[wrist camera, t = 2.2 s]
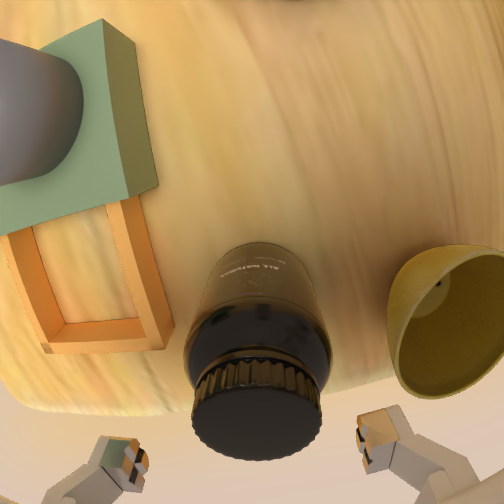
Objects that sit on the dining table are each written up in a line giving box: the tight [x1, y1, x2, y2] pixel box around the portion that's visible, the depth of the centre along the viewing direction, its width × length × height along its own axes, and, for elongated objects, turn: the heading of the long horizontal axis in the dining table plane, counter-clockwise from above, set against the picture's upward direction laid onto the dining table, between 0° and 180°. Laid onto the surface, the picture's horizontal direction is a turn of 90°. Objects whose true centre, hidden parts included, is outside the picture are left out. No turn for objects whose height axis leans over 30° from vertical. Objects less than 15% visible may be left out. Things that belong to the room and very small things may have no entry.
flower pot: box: [387, 244, 504, 399], centre depth 18 cm, size 10×10×7 cm
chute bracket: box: [0, 194, 175, 354], centre depth 20 cm, size 11×10×3 cm
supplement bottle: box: [183, 243, 333, 461], centre depth 16 cm, size 7×7×12 cm
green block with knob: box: [0, 19, 159, 236], centre depth 13 cm, size 14×10×10 cm
